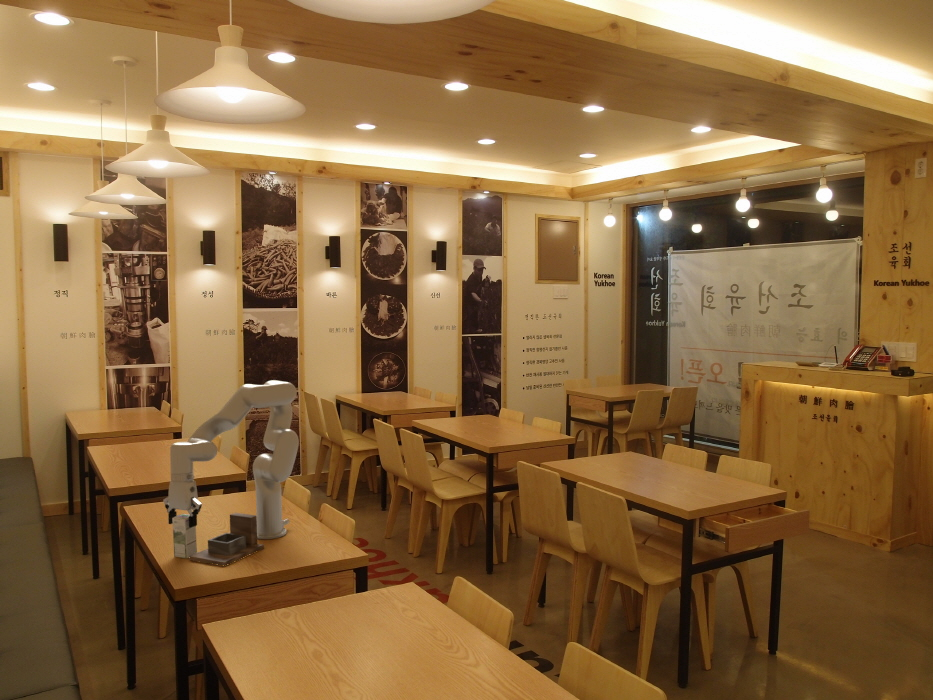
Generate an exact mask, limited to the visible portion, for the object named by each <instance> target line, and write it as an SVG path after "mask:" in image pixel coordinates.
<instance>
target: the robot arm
mask: <svg viewBox="0 0 933 700" xmlns="http://www.w3.org/2000/svg"><path fill="white" fill-rule="evenodd" d="M297 393H298V392H297V388H296V386H295V385H294V384H293V383H291V382H290V381H289V382H288V381H282V380H276V379H273V380H272V379H271V380H268V381H266V382H264V384H254V383H253V384H252V383H245V384H243V385H241V386H240V387H239V388H238V389H237V390H236V391H235V392H234V393H233V395H232V396H231V397H230V399H229V400H227V402H226V403H225V404H224V406H223V407H222V408H220V410H219V412H217V413H216V414H214V415H213V416H212V417H210V418H209V419H207V420H206V421H204V422H203V423H202V424H201V425H200V426H198V427H197V429H196V430H195V431H194V432H193V433H192V435H191V436H190V437H189V438H188V440H187V441H177V442H174V443H171V445H170V448H169V449H170V450H169V451H170V452H169V456H170V457H169V458H170V459H169V461H170V481H169V485H168V496H167V497H166V498H164V499H163V500H162V501H163V504H164V508H165V509H166V512H167V513H168V517H167V518H168V525H173V522H172V518H174V517H176V516H178V515H177V514H178V513H177V511H176V510H180V511H187V514H189V515H190V516H189V527H190V528H191V527H194V526H196V527H197V525H198V515H199V513H200V512H201V509H202V506H203V505H202V503H201V502H200V501H199V499H198V498H199V497H198V489H197V483H196V480H194V479H195V475H194V462H203V463H204V462H209V461H211V460H213V459H215V458H216V457H217V454H218V447H217V445H216V444H215V443H214V442H213V440H215V438H217V437H218V436H219V435H221V434H222V433H225V432H228V431H231V430H233V429H235V428H237V427H238V426H239V425H240V423H242V422H243V420H244V419H245V417H246V416H247V415H248V414H249V413H250V411H251V410H252V409H253V408H256V409H264V408H269V409H270V411H269V418H268V422H267V425H266V429H265V432H264V436H263V445H264V447H265V448H266V449H268V450H270V451H272V452H273V453H267V452H266V453H261V454H259V455H258V456H257V457H256V458H255V459H254V460H253V464H252V474H253V479H254V483H255V484H254V485H255V486H254V487H255V506H256V509H255V511H256V516H257V540H271V539H278V538H281V537H284V536H285V535H286V534H287V529H286V528H284V527H285V526H286V525H288V524H290V519H289V518H286V519H283V507H282V504H283V503H282V501H283V500H282V485H281V483H283V482H286V481H287V479H289V477H290V476H291V474H292V471H293V468H294V465H295V463H296V462H295V461H296V459H297V458H296V457H297V453H298V450H299V445H300V440H299V439H300V438H299V436H298V434H297V433H296V431H294V430H292V429H291V425H292V421H293V407H292V403H293V401H294V400H296V397H297Z"/></svg>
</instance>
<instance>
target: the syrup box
mask: <svg viewBox="0 0 933 700" xmlns="http://www.w3.org/2000/svg"><path fill="white" fill-rule="evenodd" d="M189 516H190V514H189V513H187V514H186V513H181V514H178V515H177V516H176V517H174V518H172V522H173V524H172V536H173V537H172V538H173V557H174V558H177V557H180V558H179V559H186V558H187V559H190V558H189V556H191V555H194V554H196V553H198V548H197V526H194V527H191V528H190V527H189ZM187 559H186V560H187Z"/></svg>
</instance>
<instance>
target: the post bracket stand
mask: <svg viewBox="0 0 933 700" xmlns="http://www.w3.org/2000/svg"><path fill="white" fill-rule="evenodd" d="M229 531H230V532H225V533H223V534H220V535H217V536H215V537H212V538H209V539H208V540H207V548H205V549H203V550H201V551H197V553H196V554H194V555H191V556H189V557H190V558H189V561H190V560H193V561H192V562H196V561H200V562H199V563H201V562H206V563H205V564H207V563H213V564H218V565H224V566H225V565H227V564H229V565H231V564H230V563H232V562H234V561H236V562H238V561H240V560H242V559H244V558H243V557H245V556H247V555H249V554H251V555H253V554H255V553H254V552H256V551H258V552H260V551H262V550H264V549H265V545H264V544H261V543H258V539H257V514H255V515H254V514H248V513H242V512H241V513H240V512H234V513H230V514H229ZM263 548H264V549H263ZM261 549H262V550H261ZM259 550H260V551H259ZM252 553H253V554H252ZM256 553H257V552H256ZM249 556H250V555H249ZM247 557H248V556H247ZM241 558H242V559H241ZM245 558H246V557H245ZM239 559H240V560H239ZM237 560H238V561H237ZM234 563H235V562H234ZM213 564H212V565H213ZM232 564H233V563H232ZM218 565H217V566H218ZM224 566H223V567H224ZM227 566H228V565H227ZM225 567H226V566H225Z"/></svg>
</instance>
